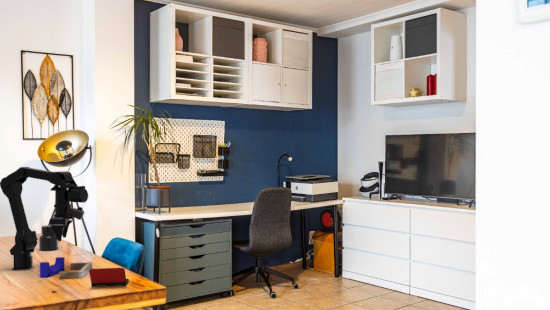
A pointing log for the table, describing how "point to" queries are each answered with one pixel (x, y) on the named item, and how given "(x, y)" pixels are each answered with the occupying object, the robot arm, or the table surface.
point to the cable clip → (51, 268)
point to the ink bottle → (48, 239)
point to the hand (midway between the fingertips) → (62, 239)
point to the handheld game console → (108, 277)
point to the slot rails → (76, 274)
